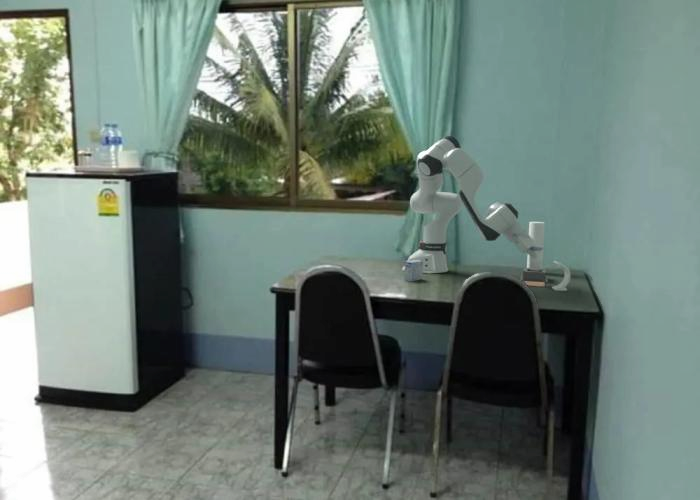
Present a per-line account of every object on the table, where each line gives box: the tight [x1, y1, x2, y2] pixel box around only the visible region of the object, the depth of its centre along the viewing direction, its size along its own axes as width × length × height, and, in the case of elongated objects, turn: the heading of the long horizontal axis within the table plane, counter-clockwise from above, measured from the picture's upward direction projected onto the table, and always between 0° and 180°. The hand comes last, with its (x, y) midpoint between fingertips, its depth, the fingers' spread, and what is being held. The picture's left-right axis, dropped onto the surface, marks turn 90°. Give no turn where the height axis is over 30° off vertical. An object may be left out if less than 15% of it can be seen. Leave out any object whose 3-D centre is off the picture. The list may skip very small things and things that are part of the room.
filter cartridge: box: [529, 246, 542, 271], centre depth 272 cm, size 5×5×10 cm
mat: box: [523, 281, 546, 288], centre depth 275 cm, size 9×9×1 cm
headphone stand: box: [551, 260, 571, 291], centre depth 264 cm, size 5×6×12 cm
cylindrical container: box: [526, 221, 546, 269], centre depth 302 cm, size 7×7×25 cm
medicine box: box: [403, 260, 423, 282], centre depth 281 cm, size 8×4×9 cm, turn 135°
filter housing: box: [520, 267, 549, 284], centre depth 286 cm, size 12×12×4 cm
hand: (536, 256), depth 272 cm, fingers closed on filter cartridge, 5 cm apart
